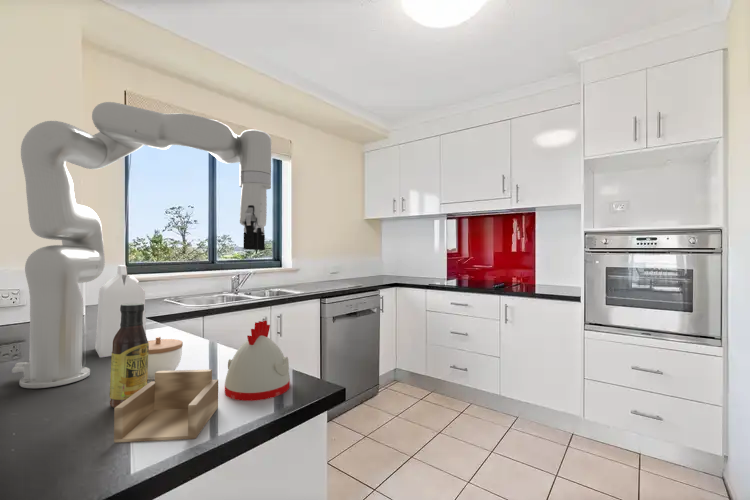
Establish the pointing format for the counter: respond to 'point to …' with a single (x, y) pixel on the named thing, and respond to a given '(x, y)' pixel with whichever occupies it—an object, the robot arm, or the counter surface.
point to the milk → (115, 308)
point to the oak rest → (168, 407)
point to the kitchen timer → (257, 368)
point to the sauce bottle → (129, 355)
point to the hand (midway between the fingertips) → (254, 249)
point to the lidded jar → (163, 355)
